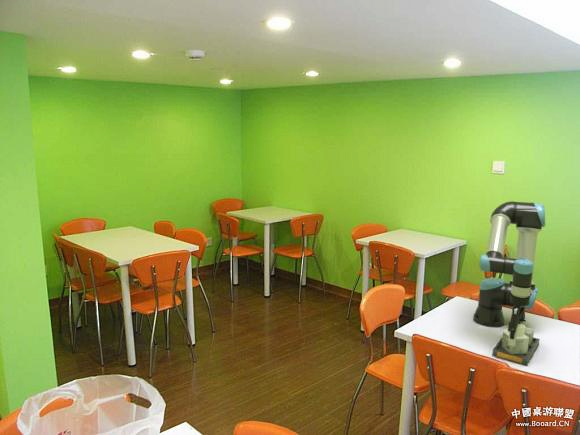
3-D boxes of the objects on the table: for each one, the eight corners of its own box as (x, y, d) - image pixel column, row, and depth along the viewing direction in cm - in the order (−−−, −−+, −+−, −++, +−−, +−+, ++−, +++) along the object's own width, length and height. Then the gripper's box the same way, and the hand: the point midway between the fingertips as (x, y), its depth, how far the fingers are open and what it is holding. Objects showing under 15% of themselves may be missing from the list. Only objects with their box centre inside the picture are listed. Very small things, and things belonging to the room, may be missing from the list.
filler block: (508, 340, 211) (509, 328, 210) (511, 335, 217) (513, 323, 216) (529, 346, 205) (530, 334, 204) (532, 340, 211) (534, 328, 210)
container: (501, 346, 205) (504, 319, 202) (517, 346, 205) (520, 319, 203) (510, 354, 197) (513, 326, 195) (527, 354, 198) (530, 326, 195)
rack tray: (491, 356, 199) (492, 349, 198) (506, 336, 220) (507, 330, 219) (526, 366, 190) (527, 359, 190) (538, 344, 211) (539, 339, 210)
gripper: (523, 304, 185) (518, 352, 188) (535, 289, 204) (530, 333, 208) (503, 300, 189) (498, 347, 193) (517, 286, 209) (512, 328, 212)
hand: (515, 340), depth 200 cm, fingers open, 13 cm apart
